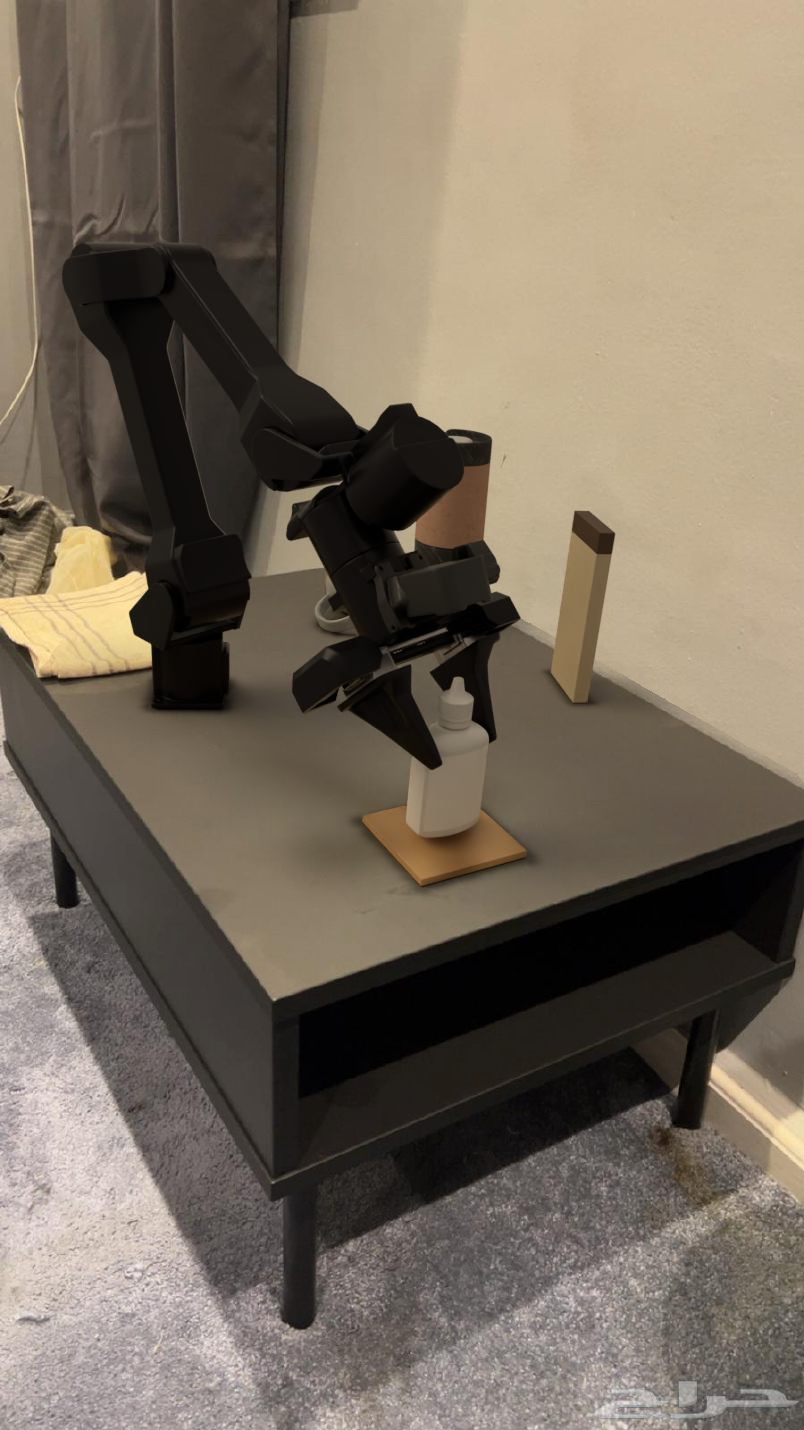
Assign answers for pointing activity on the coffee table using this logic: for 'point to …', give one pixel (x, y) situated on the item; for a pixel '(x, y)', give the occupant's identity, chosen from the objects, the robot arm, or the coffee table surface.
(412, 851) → the cork coaster mat
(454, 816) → the eye dropper bottle
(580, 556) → the tall wooden plank
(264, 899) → the coffee table surface
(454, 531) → the travel mug
